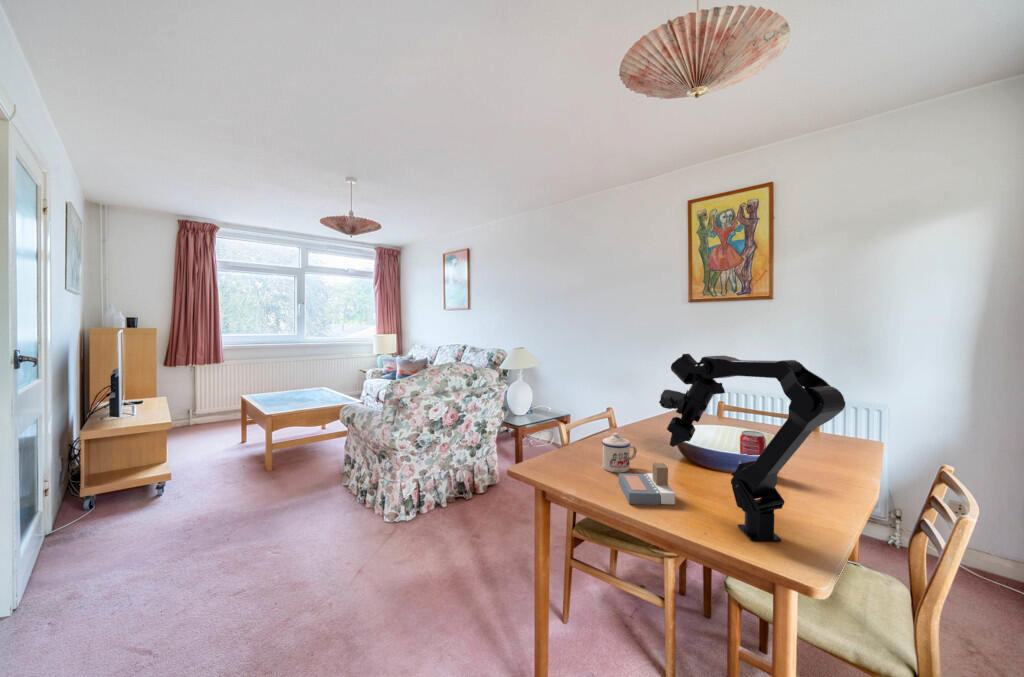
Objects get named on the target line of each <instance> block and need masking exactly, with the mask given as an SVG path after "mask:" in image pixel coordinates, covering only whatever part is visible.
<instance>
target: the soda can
mask: <svg viewBox="0 0 1024 677" xmlns="http://www.w3.org/2000/svg"><path fill="white" fill-rule="evenodd" d="M766 447H767V440H766V437H765V433H763V432H761V431H757V430H743V431H741V434H740V437H739V455H740V454H747V455H761V453H762V452H763V451H764V449H765V448H766Z"/></svg>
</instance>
